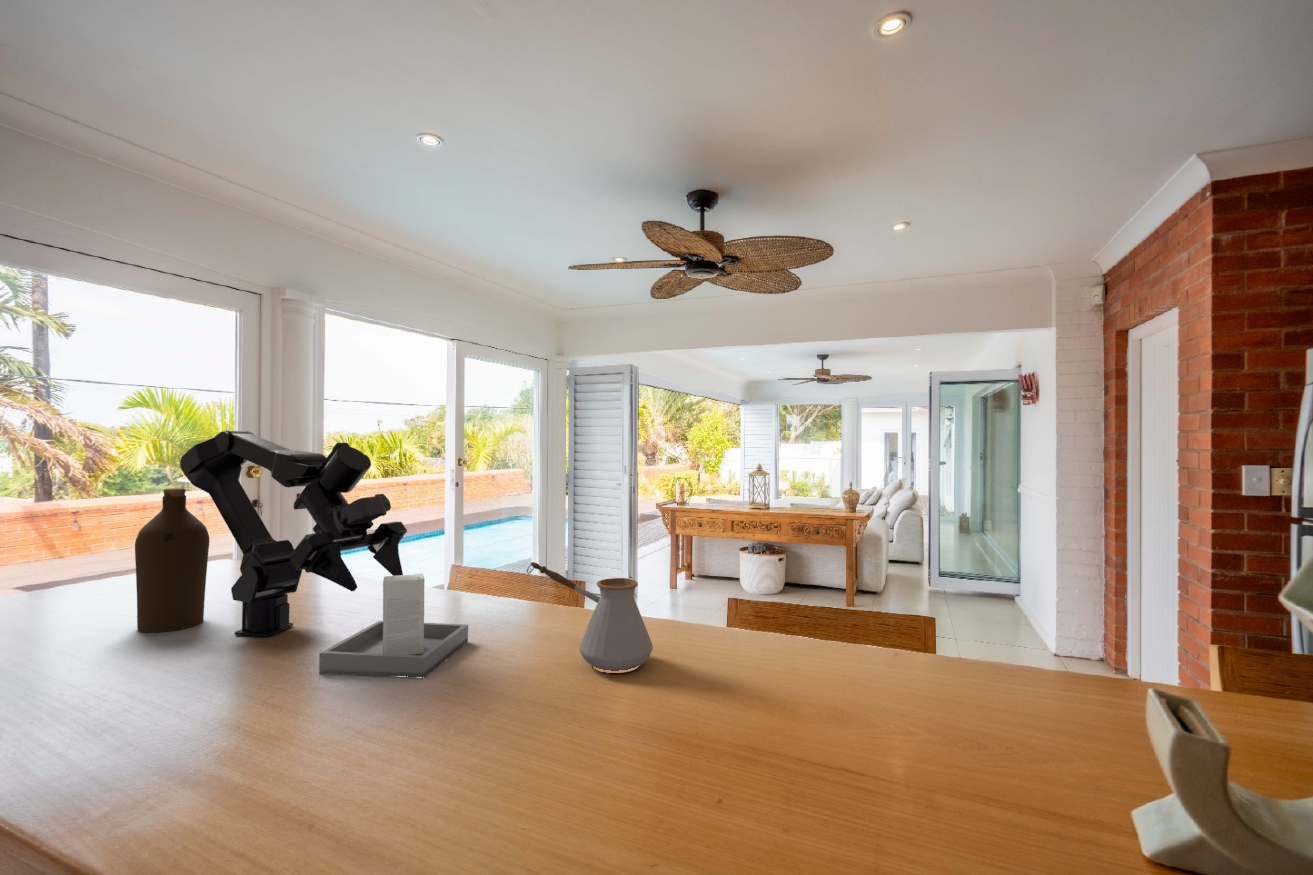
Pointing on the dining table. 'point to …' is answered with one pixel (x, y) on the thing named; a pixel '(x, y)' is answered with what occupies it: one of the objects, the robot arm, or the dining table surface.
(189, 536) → the olive oil
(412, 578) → the skincare box
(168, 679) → the dining table surface
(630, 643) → the coffee pot
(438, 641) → the tray
